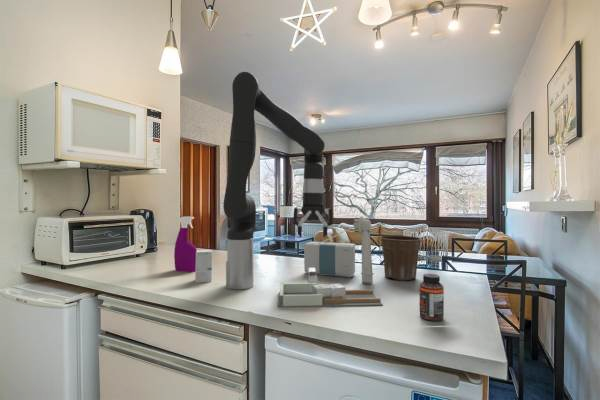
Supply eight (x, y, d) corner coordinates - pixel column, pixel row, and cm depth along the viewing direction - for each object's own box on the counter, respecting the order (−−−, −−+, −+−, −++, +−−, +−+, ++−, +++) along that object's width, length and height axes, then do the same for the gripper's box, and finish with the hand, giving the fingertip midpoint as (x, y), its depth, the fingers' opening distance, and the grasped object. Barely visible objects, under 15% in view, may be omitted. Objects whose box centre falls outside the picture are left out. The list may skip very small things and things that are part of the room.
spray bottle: (177, 271, 139) (177, 216, 139) (198, 272, 136) (198, 216, 136) (172, 272, 136) (172, 216, 137) (194, 274, 133) (194, 216, 134)
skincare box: (195, 284, 117) (194, 252, 117) (196, 281, 122) (196, 250, 122) (212, 283, 119) (212, 251, 119) (212, 280, 123) (212, 249, 123)
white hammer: (371, 285, 115) (370, 217, 115) (353, 283, 118) (353, 216, 118) (374, 282, 120) (374, 216, 120) (357, 280, 123) (357, 216, 123)
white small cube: (332, 301, 96) (332, 288, 96) (326, 297, 100) (326, 284, 100) (345, 300, 97) (345, 287, 97) (339, 295, 101) (339, 283, 101)
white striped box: (303, 274, 133) (303, 227, 133) (310, 270, 140) (310, 225, 140) (352, 279, 125) (352, 228, 125) (356, 274, 132) (356, 227, 132)
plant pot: (412, 272, 136) (412, 235, 136) (429, 282, 120) (428, 239, 120) (375, 272, 136) (375, 235, 136) (386, 282, 119) (386, 240, 119)
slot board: (277, 307, 92) (277, 302, 92) (278, 293, 106) (278, 289, 106) (382, 305, 93) (382, 300, 93) (370, 291, 107) (370, 287, 107)
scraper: (307, 281, 118) (309, 294, 107) (307, 267, 117) (309, 279, 106) (315, 281, 118) (317, 294, 107) (315, 267, 117) (318, 279, 106)
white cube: (317, 302, 95) (316, 288, 95) (312, 297, 100) (311, 285, 100) (330, 300, 97) (330, 287, 97) (325, 296, 101) (325, 283, 101)
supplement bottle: (415, 313, 86) (415, 272, 86) (436, 313, 87) (436, 272, 87) (426, 322, 80) (425, 278, 80) (448, 321, 81) (448, 277, 81)
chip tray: (279, 306, 92) (279, 295, 92) (280, 292, 106) (280, 283, 106) (322, 305, 92) (322, 295, 92) (317, 291, 106) (317, 282, 106)
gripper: (293, 191, 109) (293, 237, 109) (334, 192, 110) (333, 238, 110) (293, 191, 117) (292, 235, 117) (331, 192, 117) (330, 235, 117)
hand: (312, 236), depth 113 cm, fingers open, 8 cm apart
